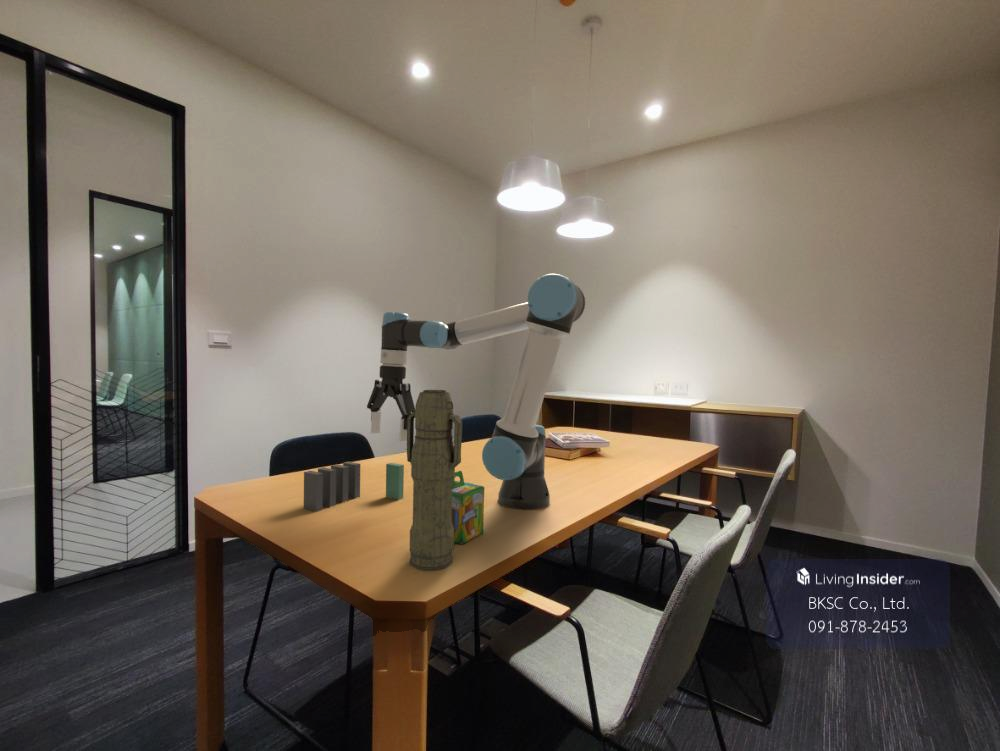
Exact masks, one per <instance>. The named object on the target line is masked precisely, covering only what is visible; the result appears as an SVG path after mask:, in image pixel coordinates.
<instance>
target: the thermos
mask: <svg viewBox="0 0 1000 751" xmlns="http://www.w3.org/2000/svg"><path fill="white" fill-rule="evenodd" d="M414 407H415V412H411V414H410V415H409V417H408V418H407V441H406V458H407V459H406V460H407V462H408V463H410V465H411V466H410V468H411V472H410V476H411V478H412V481H413V485H412V486H413V487H412V489H413V490H412V491H413V492H412V524H411V526H410V529H409V550H408V551H409V552H410V558H409V563H410V566H411V567H412V568H414V569H417V570H419V571H428V572H433V571H440V570H443V569H447V567H450V566H451V564H453V560H454V558H453V557H454V556H453V551H454V548H455V547H454V546H455V544H454V543H455V542H454V527H453V524H452V481H453V478H454V476H455V472H456V467H457V466H459V465H460V464H461V463H462V441H463V440H462V439H463V438H462V437H463V421H462V419H461V418H460V415H458V414H455V413H454V404H453V399H452V396H451V394H450V392H447V390H444V389H424V390H422V391H420V392H419V394H418V396H417V399H416V402H415V406H414ZM414 428H415V429H414ZM453 428H454V432H453V433H454V434H453V433H452V430H453ZM414 430H415V432H414ZM414 434H415V435H414ZM453 437H454V438H453ZM453 440H454V441H453Z"/></svg>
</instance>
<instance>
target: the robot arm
mask: <svg viewBox="0 0 1000 751" xmlns="http://www.w3.org/2000/svg"><path fill="white" fill-rule="evenodd" d="M585 308H586V297H585V295H584V292H583V291H582V289H581V288H580V287H579V286H578V285H576V284H575V283H574V282H573V281H572V280H571V279H570V278H569V277H567V276H564V275H563V274H562V275H561V274H557V273H548V274H545V275H542V276H540V277H538V278H537V279H536V280H535V281H534V282H533V283H532V284H531V286H530V288H529V290H528V292H527V302H524V303H519V304H516V305H512V306H508V307H505V308H501V309H497V310H493V311H489V312H487V313H481V314H478V315H474V316H472V317H471V316H470V317H467V318H464V319H460V320H457V321H452V322H449V323H443V322H442V321H437V320H436V321H435V320H412V319H410V316H409V314H408V313H405V312H395V311H388V312H387V311H386V312H385V313H384V314H383V316H382V323H381V347H380V363H381V364H382V365H380V366H379V376H378V377H379V378H380V379H375V380H374V384H373V385H374V386H373V389H372V391H371V393H370V394H371V395H370V397H369V399H368V401H367V405H366V408H367V409H368V410H370V412H371V413H370V414H371V416H370V422H371V423H370V424H371V427H370V434H379V433H381V420H382V419H381V418H382V417H381V416H382V412H381V411H382V410H381V408H382V407H383V405H384V403H385V401H386V400H387V399H388V397H389V398H393V400H395V402H396V404H397V407H398V410H399V411H400V414H401V417H400V422H399V426H400V427H399V439H398V440H399V442H404V441H406V442H407V418H408V417H409V415H410V414H411V413H412V412H415V407H416V406H415V403H414V399H413V396H412V392H411V383H410V382H409V383H408V382H407V383H404V382H403V381H404V380H405V379H406V378H407V377H406V373H407V368H406V366H405V365H407V360H408V359H407V358H408V347H419V348H429V349H444V350H454V349H457V348H459V347H460V346H463V345H466V344H467V345H468V344H472V343H475V342H479V341H483V340H487V339H492V338H496V337H500V336H505V335H508V334H512V333H513V334H514V333H517V332H520V331H526V330H528V333H527V338H526V339H525V340H526V341H525V345H524V348H523V351H522V354H521V358H520V360H519V361H520V362H519V364H518V368H517V371H516V375H515V379H514V381H513V384H512V388H511V390H510V391H511V392H510V395H509V399H508V403H507V406H506V408H505V412H504V415H503V417H502V418H501V419H499V420H497V421H496V423H495V427H494V430H493V433H492V436H491V438H490V439H488V440H487V442H486V443H485V444H484V446H483V448H482V452H481V453H482V454H481V459H482V462H483V466H484V467H485V469H486V471H487V473H489V474H490V475H491V476H492V477H494V478H495V479H498V480H499V481H502V482H501V485H500V488H499V491H498V496H497V497H498V499H497V500H498V503H499V504H500V505H501V506H504V507H508V508H511V509H518V510H538V509H542V508H545V507H547V506H549V504H550V503H551V502H550V499H551V497H550V496H551V494H550V491H549V488H548V485H547V481H546V478H545V465H546V464H545V462H546V461H545V460H546V439H547V435H546V428H545V427H544V426H543V425H541V424H540V425H539V424H537V422H538V418H539V414H540V413H541V410H542V408H541V407H542V405H543V403H544V398H545V396H546V391H547V388H548V384H549V383H550V379H551V375H552V371H553V368H554V365H555V363H556V358H557V355H558V352H559V349H560V345H561V342H562V340H563V339H565V338H566V337H568V336H569V335H570V333H571V329H572V326H573V323H575V322H576V321H578V320H580V318H581V317H582V315H583V313H584V311H585Z"/></svg>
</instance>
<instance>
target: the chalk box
mask: <svg viewBox="0 0 1000 751" xmlns="http://www.w3.org/2000/svg"><path fill="white" fill-rule="evenodd" d="M456 477H457V478H459V481H458V480H455V479H456ZM484 510H485V486H483V485H478V484H474V483H471V482H466V481H465V479H464V475H463V472H462V470H458V471H455V476H454V478H453V481H452V524H453V527H454V543H455V544H460V545H464V544H465V543H468V542H469V541H471V540H473V539H475V538H476V537H478V536H481V535H482V534H484V518H485V517H484V516H485V515H484V512H485V511H484Z"/></svg>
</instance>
